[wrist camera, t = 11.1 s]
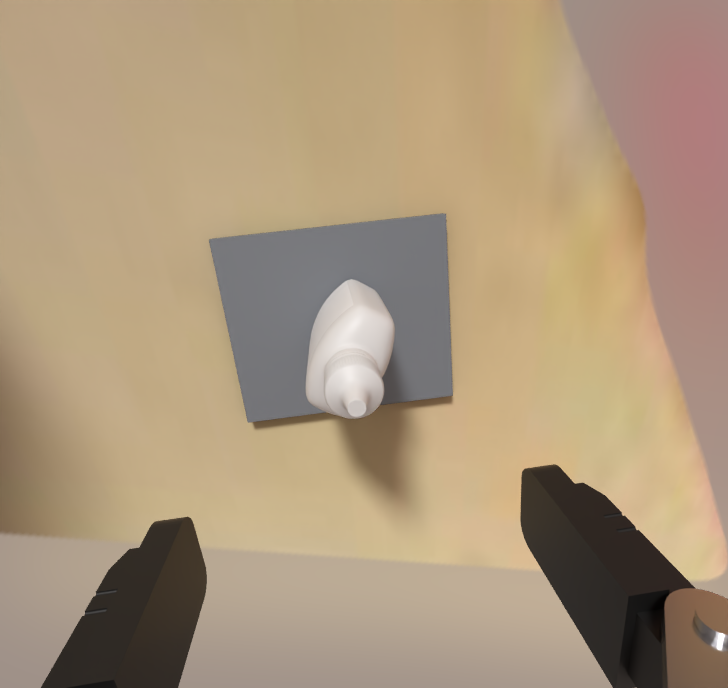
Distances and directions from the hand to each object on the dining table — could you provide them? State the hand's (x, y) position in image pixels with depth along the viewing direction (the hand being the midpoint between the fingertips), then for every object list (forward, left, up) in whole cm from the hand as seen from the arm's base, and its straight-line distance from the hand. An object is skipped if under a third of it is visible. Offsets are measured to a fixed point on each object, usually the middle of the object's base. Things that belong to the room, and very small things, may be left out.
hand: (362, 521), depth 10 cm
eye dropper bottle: (0, 0, -18) cm, 18 cm away
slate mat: (0, 0, -18) cm, 18 cm away
